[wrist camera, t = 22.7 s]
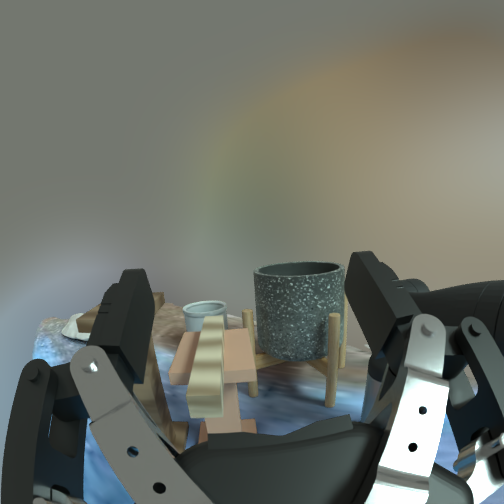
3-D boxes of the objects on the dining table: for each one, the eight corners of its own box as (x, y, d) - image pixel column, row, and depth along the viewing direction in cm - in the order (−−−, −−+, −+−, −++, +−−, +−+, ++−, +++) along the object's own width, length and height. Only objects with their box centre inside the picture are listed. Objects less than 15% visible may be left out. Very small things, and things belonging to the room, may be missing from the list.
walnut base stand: (181, 476, 36) (137, 319, 33) (130, 471, 35) (75, 319, 32) (188, 426, 52) (163, 292, 49) (147, 424, 51) (115, 294, 48)
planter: (247, 396, 65) (237, 276, 62) (276, 359, 85) (271, 261, 82) (333, 408, 56) (339, 277, 53) (345, 364, 76) (348, 260, 73)
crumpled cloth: (97, 319, 126) (91, 303, 124) (124, 335, 104) (117, 316, 102) (60, 335, 108) (54, 318, 106) (78, 357, 87) (70, 337, 85)
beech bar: (223, 417, 25) (219, 395, 24) (190, 418, 24) (185, 396, 24) (224, 330, 50) (223, 315, 50) (206, 331, 50) (204, 316, 50)
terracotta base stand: (263, 473, 37) (255, 368, 35) (196, 476, 36) (168, 373, 34) (255, 423, 53) (247, 328, 51) (201, 426, 52) (184, 332, 50)
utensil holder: (180, 355, 91) (173, 308, 89) (208, 341, 103) (204, 298, 101) (211, 366, 82) (205, 315, 81) (239, 349, 95) (235, 302, 93)
